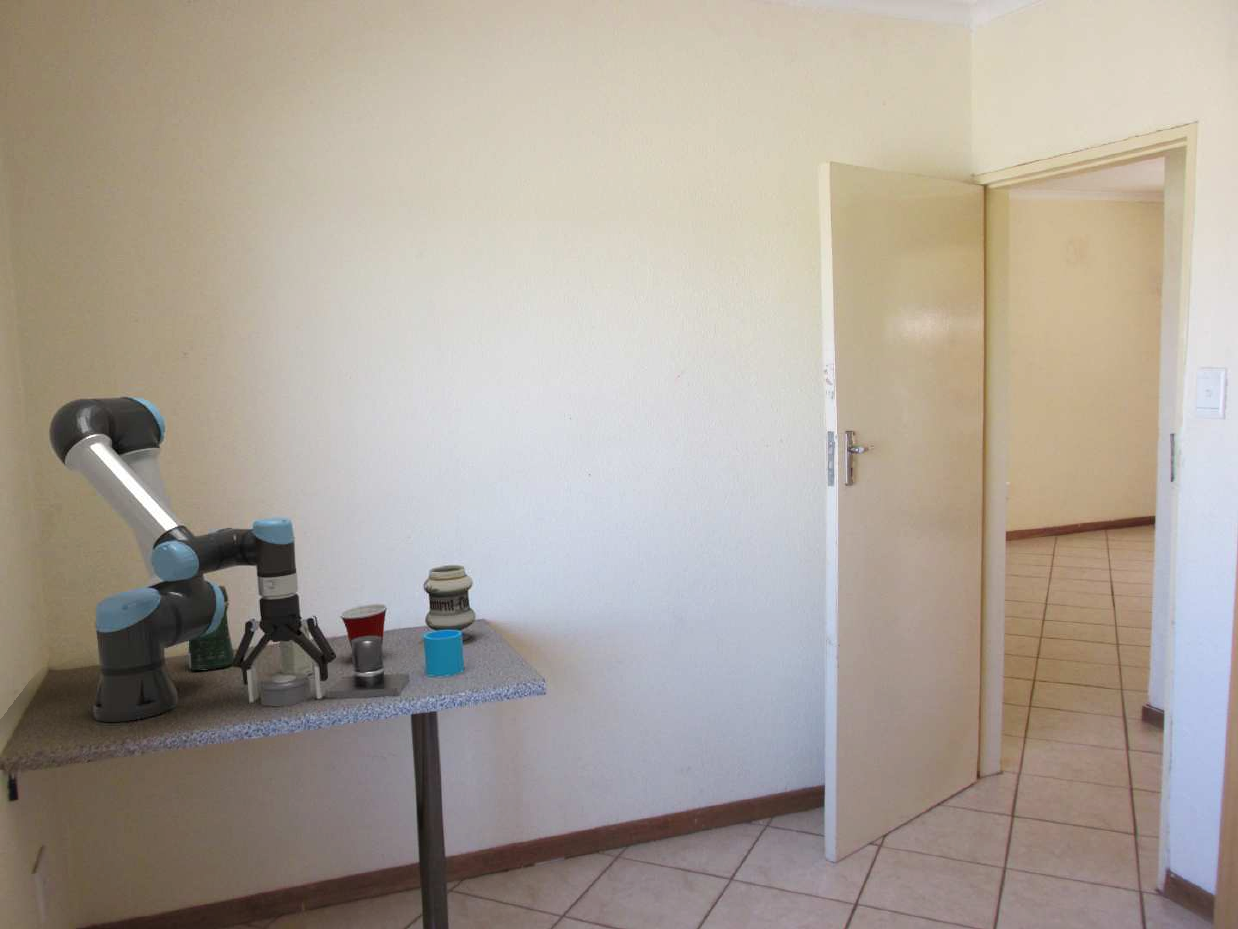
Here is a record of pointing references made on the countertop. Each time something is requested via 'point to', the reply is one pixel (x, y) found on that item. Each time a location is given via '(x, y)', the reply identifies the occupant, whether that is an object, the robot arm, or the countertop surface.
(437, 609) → the apothecary jar
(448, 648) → the mug
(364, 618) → the plastic cup
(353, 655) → the gray flat-based fixture
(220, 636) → the coffee jar
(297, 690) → the cap
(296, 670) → the skincare box
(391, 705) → the countertop surface
